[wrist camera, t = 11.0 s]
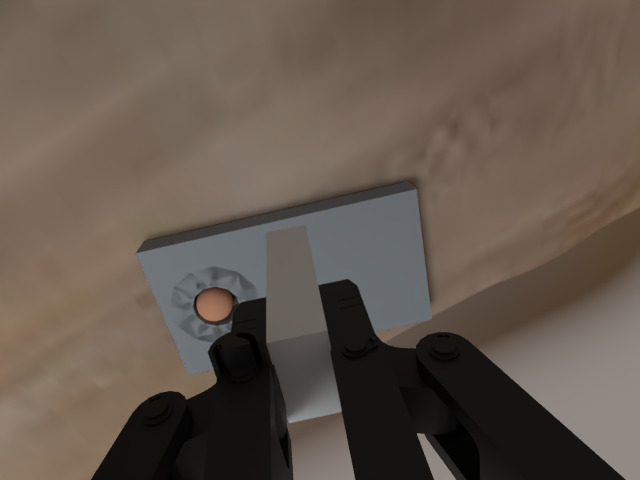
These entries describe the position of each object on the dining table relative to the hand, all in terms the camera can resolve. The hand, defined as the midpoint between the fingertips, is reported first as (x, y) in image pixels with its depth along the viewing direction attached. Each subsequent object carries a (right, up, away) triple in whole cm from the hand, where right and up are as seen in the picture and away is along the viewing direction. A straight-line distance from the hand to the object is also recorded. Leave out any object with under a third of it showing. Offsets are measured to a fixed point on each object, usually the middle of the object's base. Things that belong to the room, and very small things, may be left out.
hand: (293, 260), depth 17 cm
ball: (-9, -5, +24) cm, 27 cm away
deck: (-2, -3, +26) cm, 26 cm away
